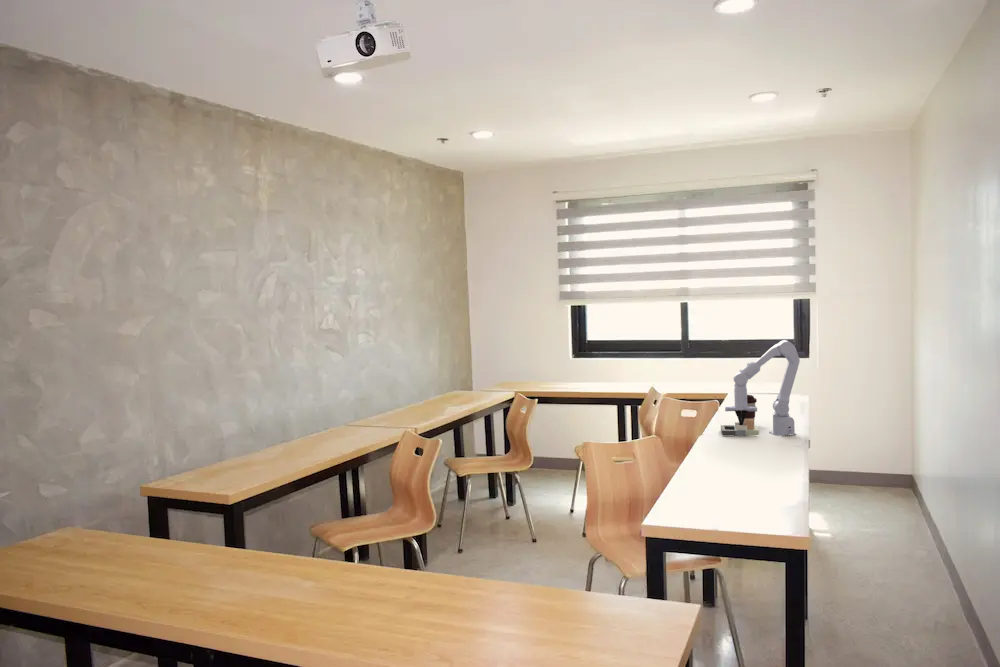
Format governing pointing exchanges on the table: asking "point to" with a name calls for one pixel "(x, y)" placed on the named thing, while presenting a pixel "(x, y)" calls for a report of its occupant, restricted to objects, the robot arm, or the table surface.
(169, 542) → the table surface
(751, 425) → the terracotta block
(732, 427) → the gray recessed tray
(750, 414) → the coffee cup
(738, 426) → the channel walls
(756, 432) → the pad
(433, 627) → the table surface
